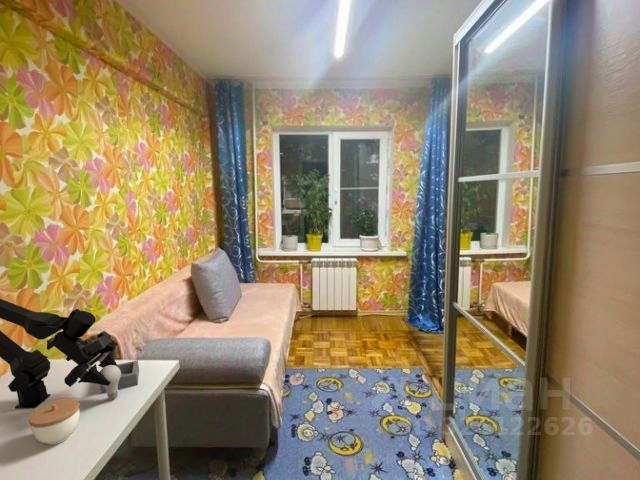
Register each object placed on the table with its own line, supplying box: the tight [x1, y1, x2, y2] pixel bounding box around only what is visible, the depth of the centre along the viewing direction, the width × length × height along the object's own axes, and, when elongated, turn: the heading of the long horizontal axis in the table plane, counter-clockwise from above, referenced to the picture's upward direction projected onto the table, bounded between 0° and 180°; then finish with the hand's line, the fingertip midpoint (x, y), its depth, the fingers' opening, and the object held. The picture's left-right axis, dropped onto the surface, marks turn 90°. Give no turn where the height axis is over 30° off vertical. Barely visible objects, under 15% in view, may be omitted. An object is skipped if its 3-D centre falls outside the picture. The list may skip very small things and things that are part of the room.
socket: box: [99, 359, 140, 395], centre depth 121 cm, size 10×10×4 cm
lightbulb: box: [99, 365, 121, 401], centre depth 111 cm, size 6×6×11 cm
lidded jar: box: [28, 397, 81, 446], centre depth 95 cm, size 11×11×9 cm
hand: (115, 378), depth 111 cm, fingers closed on lightbulb, 6 cm apart
